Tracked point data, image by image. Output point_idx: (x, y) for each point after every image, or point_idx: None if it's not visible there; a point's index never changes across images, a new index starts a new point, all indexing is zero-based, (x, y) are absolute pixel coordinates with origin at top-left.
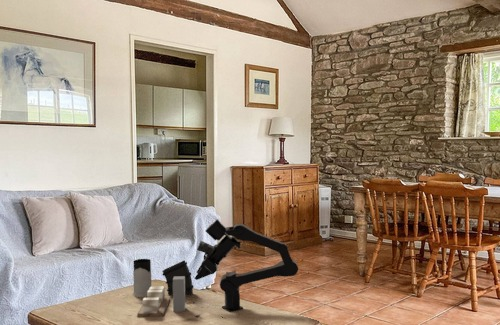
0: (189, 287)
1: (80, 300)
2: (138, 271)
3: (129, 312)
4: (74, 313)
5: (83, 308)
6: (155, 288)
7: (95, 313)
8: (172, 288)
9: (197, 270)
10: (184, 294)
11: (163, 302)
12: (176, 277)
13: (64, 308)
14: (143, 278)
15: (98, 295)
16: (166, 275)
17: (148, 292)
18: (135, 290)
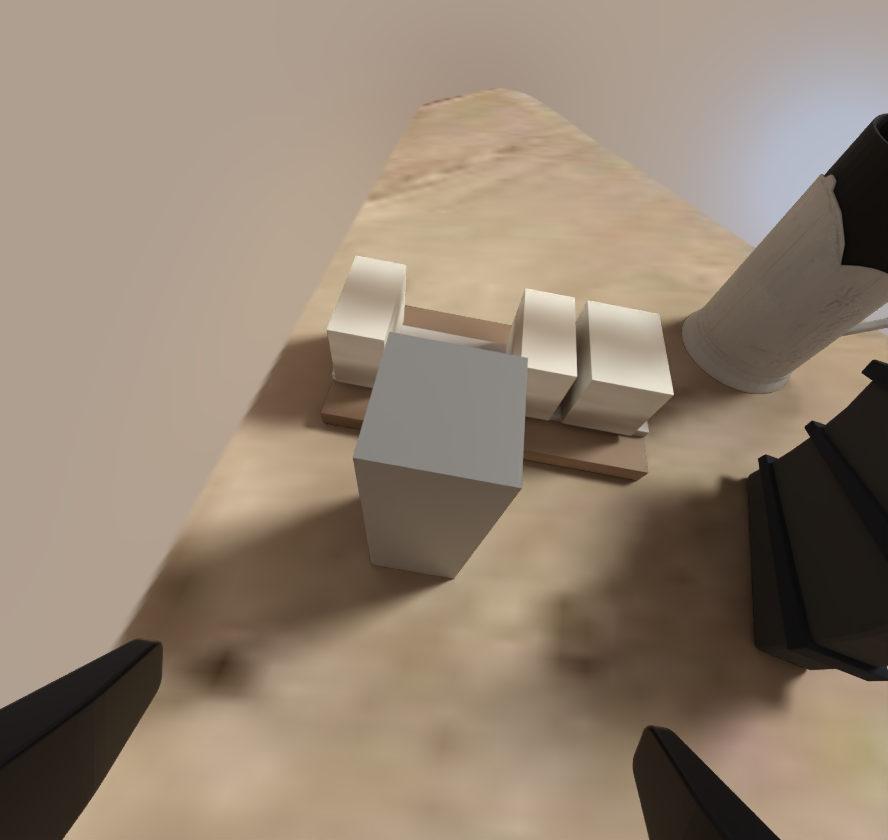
0: (810, 631)
1: (619, 166)
2: (805, 199)
3: (439, 285)
4: (473, 150)
5: (525, 169)
6: (611, 336)
7: (457, 192)
8: (782, 487)
9: (682, 761)
10: (403, 537)
11: (532, 427)
12: (475, 377)
13: (532, 134)
14: (772, 267)
15: (684, 208)
16: (874, 396)
17: (525, 296)
18: (713, 296)
